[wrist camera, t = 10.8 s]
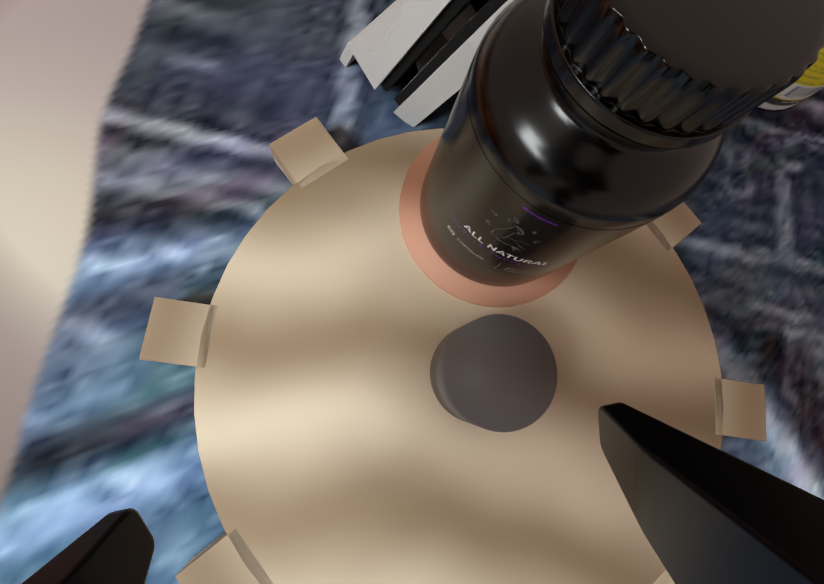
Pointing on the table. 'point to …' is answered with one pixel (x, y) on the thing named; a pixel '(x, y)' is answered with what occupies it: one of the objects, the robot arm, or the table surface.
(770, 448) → the table surface
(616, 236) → the supplement bottle
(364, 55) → the white arched block
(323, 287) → the sprocket wheel
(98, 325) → the table surface
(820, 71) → the supplement bottle
